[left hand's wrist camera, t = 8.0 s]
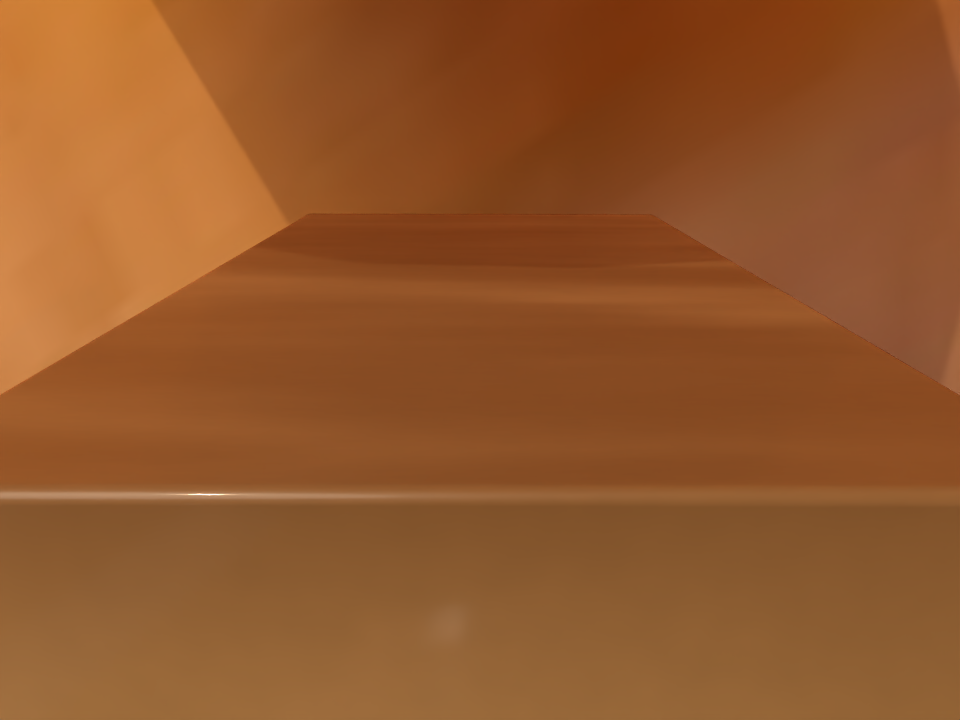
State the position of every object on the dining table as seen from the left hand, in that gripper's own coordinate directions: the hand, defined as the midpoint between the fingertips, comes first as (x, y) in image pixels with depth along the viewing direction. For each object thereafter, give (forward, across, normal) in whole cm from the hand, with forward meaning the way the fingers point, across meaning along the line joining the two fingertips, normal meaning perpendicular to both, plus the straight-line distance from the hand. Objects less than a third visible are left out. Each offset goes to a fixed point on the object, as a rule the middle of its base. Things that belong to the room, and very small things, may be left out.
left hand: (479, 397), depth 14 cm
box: (+2, 0, -7) cm, 8 cm away
